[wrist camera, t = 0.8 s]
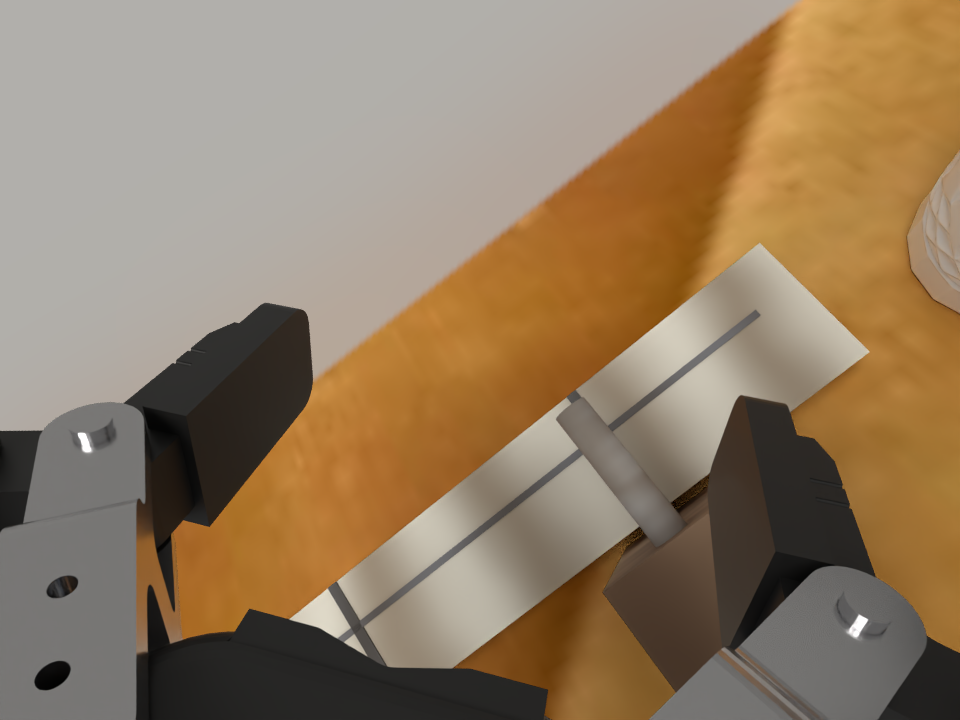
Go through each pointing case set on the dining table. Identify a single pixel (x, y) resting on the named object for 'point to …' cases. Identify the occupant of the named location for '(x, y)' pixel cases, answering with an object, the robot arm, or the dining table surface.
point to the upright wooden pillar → (655, 556)
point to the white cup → (939, 239)
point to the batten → (585, 471)
